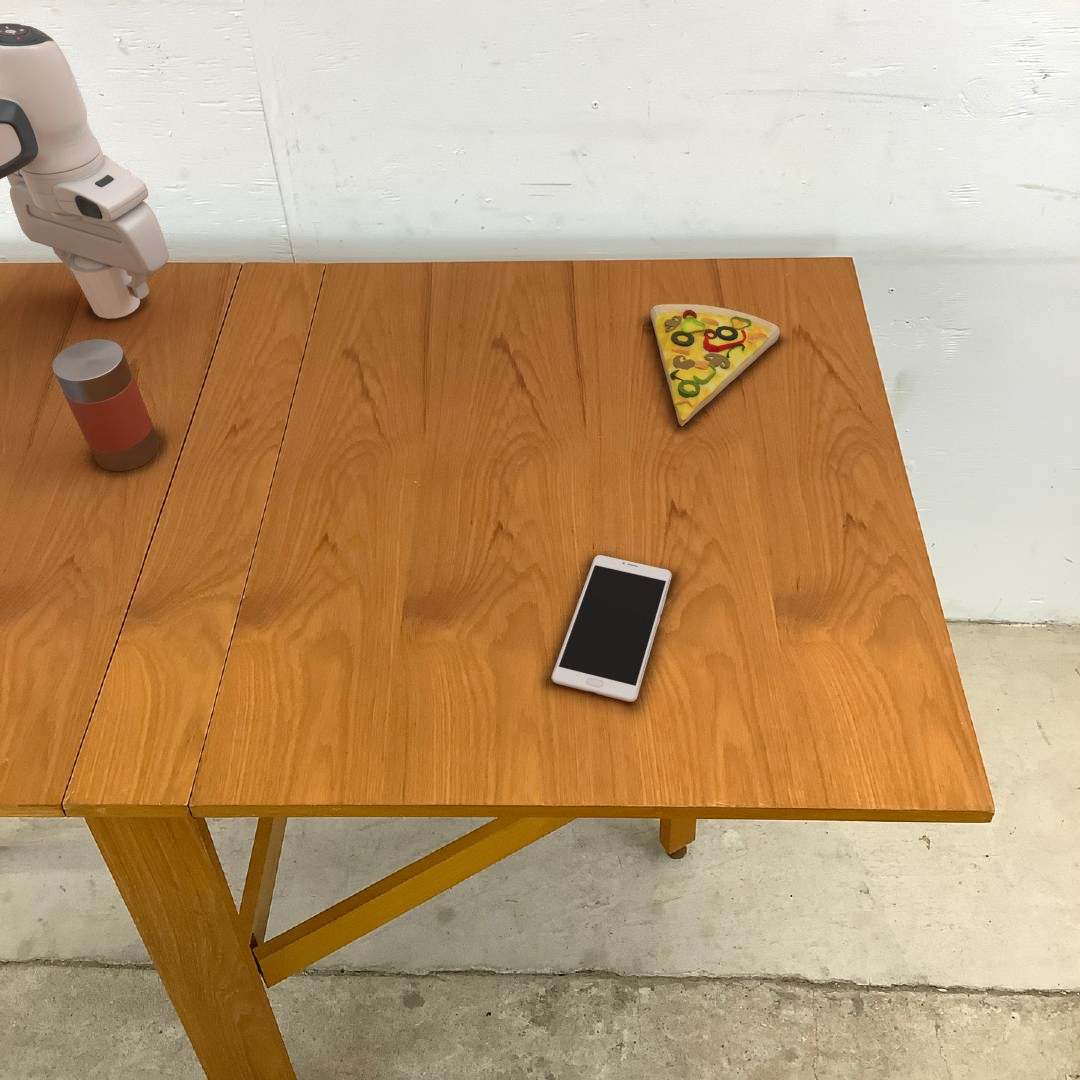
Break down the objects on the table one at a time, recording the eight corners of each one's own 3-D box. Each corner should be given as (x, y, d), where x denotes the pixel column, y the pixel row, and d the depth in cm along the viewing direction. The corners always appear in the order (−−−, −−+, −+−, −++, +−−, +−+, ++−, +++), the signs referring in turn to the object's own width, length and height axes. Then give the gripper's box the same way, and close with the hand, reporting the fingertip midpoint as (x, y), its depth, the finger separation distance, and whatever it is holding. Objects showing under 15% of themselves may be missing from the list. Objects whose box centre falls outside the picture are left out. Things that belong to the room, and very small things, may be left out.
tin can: (81, 460, 103) (36, 369, 95) (125, 422, 107) (86, 331, 99) (129, 479, 101) (88, 388, 92) (173, 440, 105) (138, 349, 96)
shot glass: (130, 323, 120) (111, 273, 115) (78, 319, 121) (57, 269, 115) (154, 292, 124) (136, 242, 119) (103, 287, 125) (84, 238, 120)
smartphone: (549, 679, 83) (595, 552, 93) (549, 684, 84) (595, 557, 93) (636, 701, 82) (673, 570, 91) (635, 705, 82) (672, 574, 92)
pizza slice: (780, 331, 117) (784, 310, 115) (751, 442, 104) (755, 421, 102) (654, 309, 121) (655, 288, 118) (610, 414, 107) (611, 392, 105)
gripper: (-20, 173, 112) (29, 278, 122) (117, 212, 105) (156, 320, 115) (22, 149, 115) (66, 253, 126) (157, 185, 109) (192, 292, 119)
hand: (111, 286), depth 120 cm, fingers open, 8 cm apart
